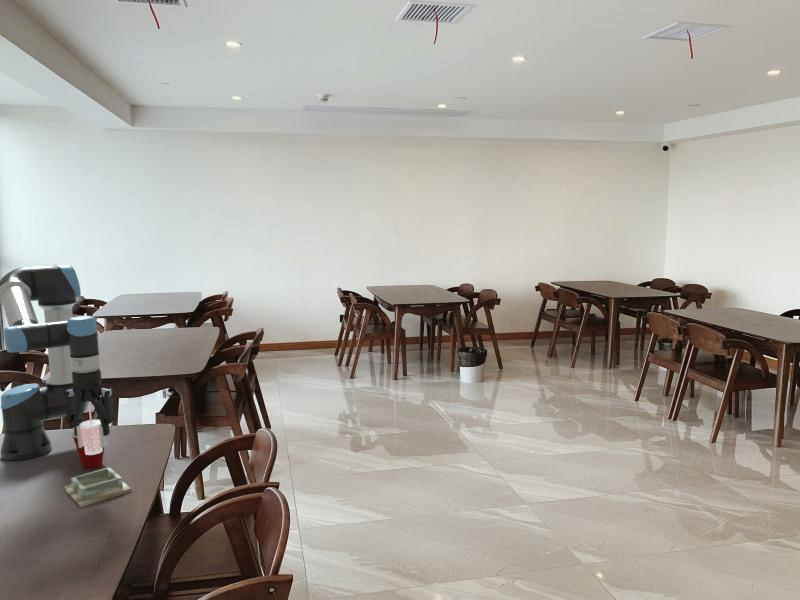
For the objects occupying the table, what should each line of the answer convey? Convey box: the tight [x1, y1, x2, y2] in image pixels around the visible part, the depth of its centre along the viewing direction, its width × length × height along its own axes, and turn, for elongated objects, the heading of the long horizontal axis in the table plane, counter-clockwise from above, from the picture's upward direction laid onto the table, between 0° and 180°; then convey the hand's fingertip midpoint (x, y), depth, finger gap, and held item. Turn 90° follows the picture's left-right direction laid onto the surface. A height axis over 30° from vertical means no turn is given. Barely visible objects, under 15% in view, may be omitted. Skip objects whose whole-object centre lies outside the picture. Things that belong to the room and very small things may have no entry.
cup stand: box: [63, 466, 132, 508], centre depth 183 cm, size 16×14×4 cm
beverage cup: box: [80, 405, 102, 455], centre depth 181 cm, size 6×6×14 cm
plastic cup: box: [70, 431, 105, 470], centre depth 201 cm, size 11×11×12 cm
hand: (93, 445), depth 182 cm, fingers closed on beverage cup, 6 cm apart
